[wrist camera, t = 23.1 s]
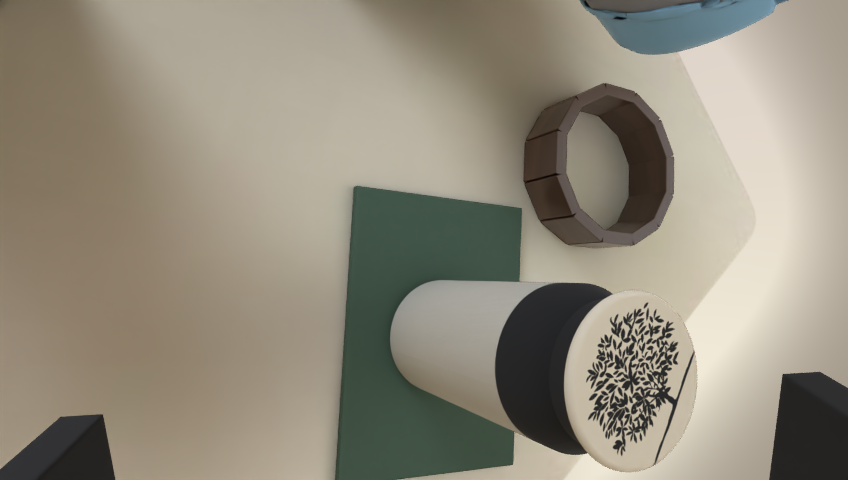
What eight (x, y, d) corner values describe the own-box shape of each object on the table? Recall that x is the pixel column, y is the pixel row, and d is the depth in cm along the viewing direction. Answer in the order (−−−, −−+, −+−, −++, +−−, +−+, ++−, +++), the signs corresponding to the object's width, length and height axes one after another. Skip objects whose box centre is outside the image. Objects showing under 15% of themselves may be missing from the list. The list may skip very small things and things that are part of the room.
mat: (353, 186, 36) (356, 185, 36) (517, 209, 42) (522, 208, 42) (334, 484, 34) (337, 487, 34) (508, 462, 40) (513, 465, 40)
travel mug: (365, 347, 35) (531, 409, 19) (431, 257, 38) (626, 245, 22) (445, 412, 38) (653, 516, 21) (502, 323, 40) (725, 357, 24)
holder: (526, 86, 43) (559, 68, 40) (637, 115, 49) (674, 102, 45) (521, 240, 42) (554, 237, 39) (635, 252, 48) (673, 250, 44)
